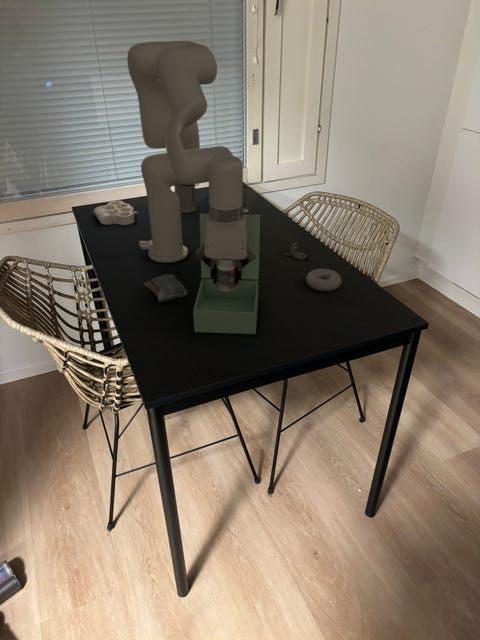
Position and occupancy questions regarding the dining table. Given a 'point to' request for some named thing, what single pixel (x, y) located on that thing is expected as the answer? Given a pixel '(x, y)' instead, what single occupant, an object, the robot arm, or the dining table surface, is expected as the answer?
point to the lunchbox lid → (253, 241)
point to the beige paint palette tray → (115, 213)
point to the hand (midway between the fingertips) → (226, 280)
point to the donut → (323, 279)
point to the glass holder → (187, 197)
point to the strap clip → (292, 252)
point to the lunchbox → (226, 308)
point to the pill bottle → (226, 275)
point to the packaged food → (166, 287)
